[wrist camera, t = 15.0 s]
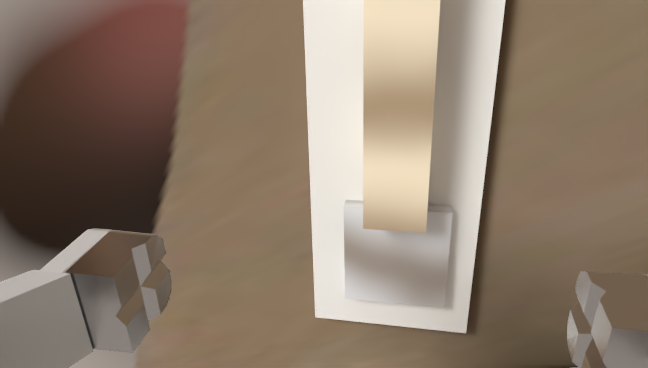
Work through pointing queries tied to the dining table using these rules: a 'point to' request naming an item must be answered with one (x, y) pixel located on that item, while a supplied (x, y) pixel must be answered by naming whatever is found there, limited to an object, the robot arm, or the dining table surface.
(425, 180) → the scraper
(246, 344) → the dining table surface
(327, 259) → the tool board
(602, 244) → the dining table surface
